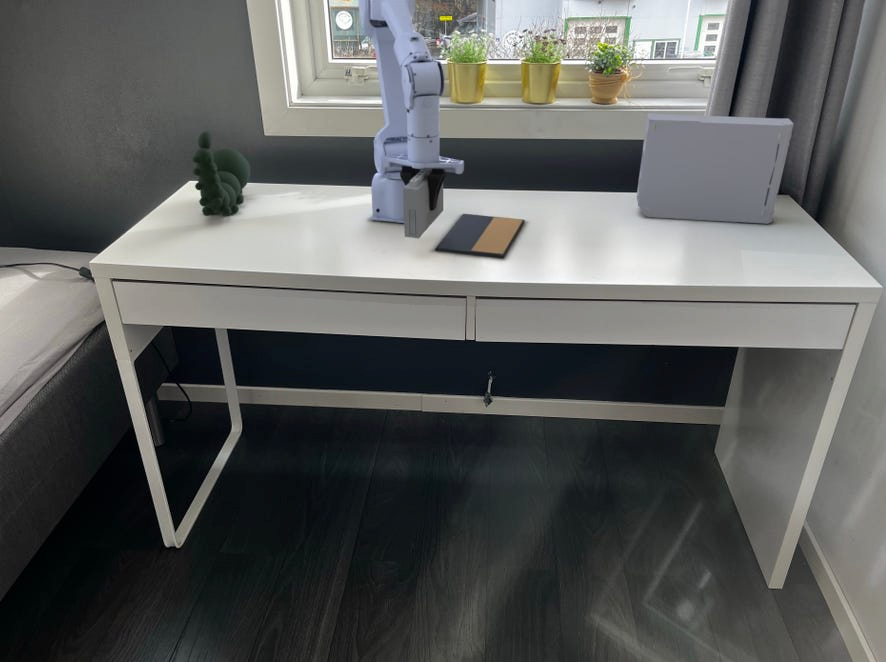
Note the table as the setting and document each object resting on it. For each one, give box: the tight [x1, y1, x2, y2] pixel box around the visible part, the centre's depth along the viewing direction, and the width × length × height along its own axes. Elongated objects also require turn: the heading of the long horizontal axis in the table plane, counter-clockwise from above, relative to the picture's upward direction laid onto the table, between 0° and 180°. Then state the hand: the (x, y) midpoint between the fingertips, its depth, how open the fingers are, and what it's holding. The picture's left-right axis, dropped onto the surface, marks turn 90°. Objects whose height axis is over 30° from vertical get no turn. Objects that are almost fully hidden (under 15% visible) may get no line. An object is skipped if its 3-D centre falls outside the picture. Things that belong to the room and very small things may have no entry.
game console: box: [636, 112, 794, 225], centre depth 153 cm, size 6×27×20 cm, turn 81°
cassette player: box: [403, 170, 444, 239], centre depth 140 cm, size 16×3×10 cm, turn 164°
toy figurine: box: [192, 130, 251, 217], centre depth 158 cm, size 9×19×25 cm
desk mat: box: [435, 213, 526, 259], centre depth 148 cm, size 13×20×1 cm, turn 164°
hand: (424, 208), depth 141 cm, fingers closed on cassette player, 3 cm apart
